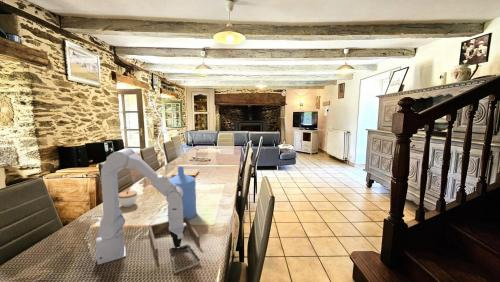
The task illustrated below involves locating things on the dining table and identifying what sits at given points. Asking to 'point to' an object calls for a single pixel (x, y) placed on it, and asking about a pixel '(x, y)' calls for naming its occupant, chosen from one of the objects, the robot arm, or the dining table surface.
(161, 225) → the walnut u-shaped frame
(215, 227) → the dining table surface
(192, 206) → the water jug
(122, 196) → the lidded jar
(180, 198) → the robot arm
